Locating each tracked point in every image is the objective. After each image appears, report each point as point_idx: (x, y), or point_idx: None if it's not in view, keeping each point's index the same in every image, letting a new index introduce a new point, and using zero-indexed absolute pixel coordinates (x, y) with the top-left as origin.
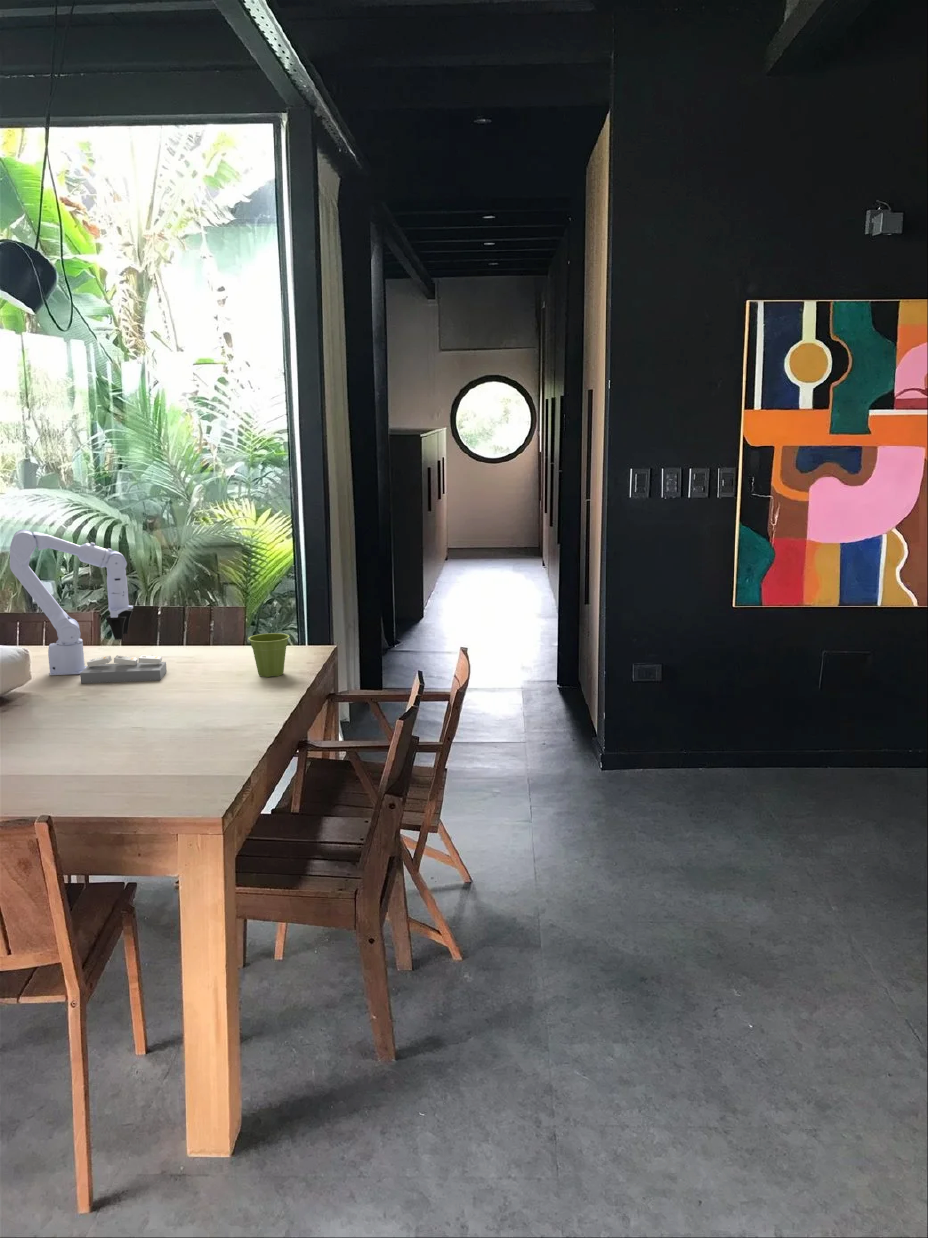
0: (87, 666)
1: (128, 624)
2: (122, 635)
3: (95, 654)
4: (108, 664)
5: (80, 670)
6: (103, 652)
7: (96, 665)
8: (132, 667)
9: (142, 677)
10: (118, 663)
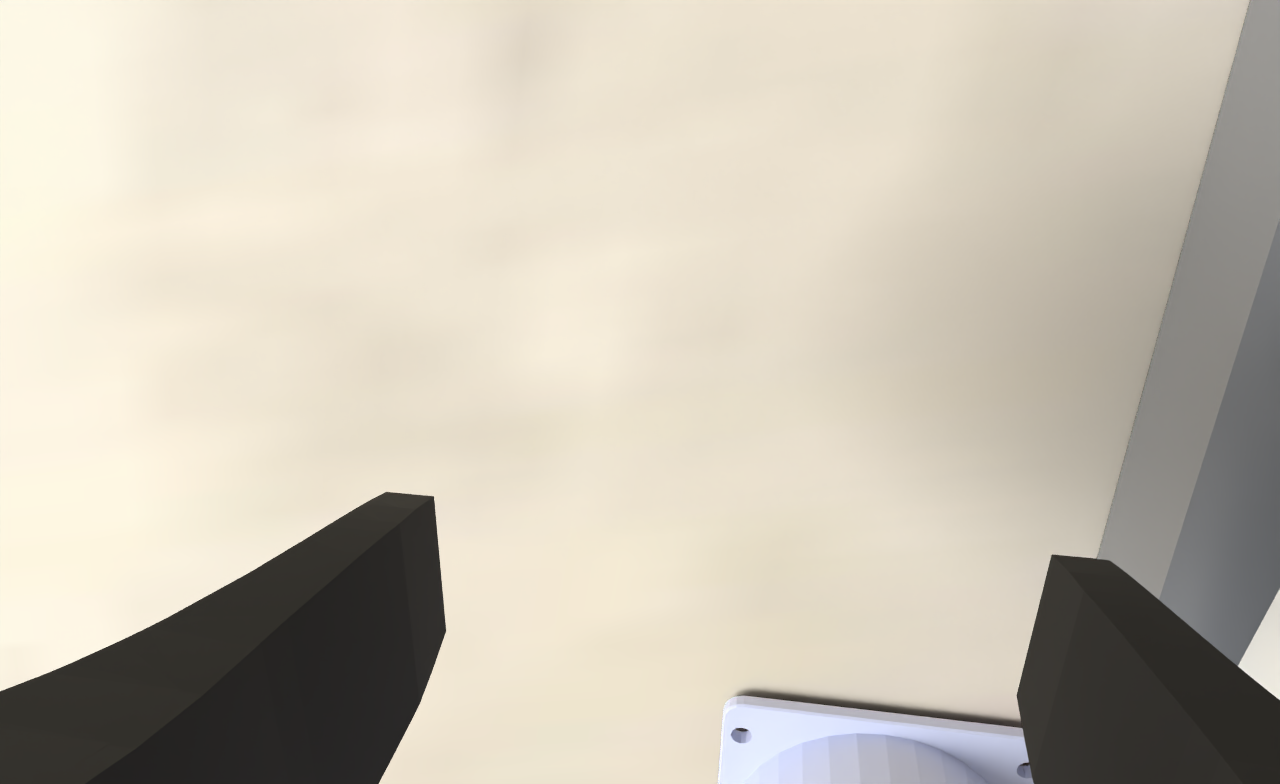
0: None
1: (298, 610)
2: (1162, 606)
3: None
4: (1235, 529)
5: (969, 771)
6: (9, 617)
7: None
8: None
9: None
10: (1224, 391)
